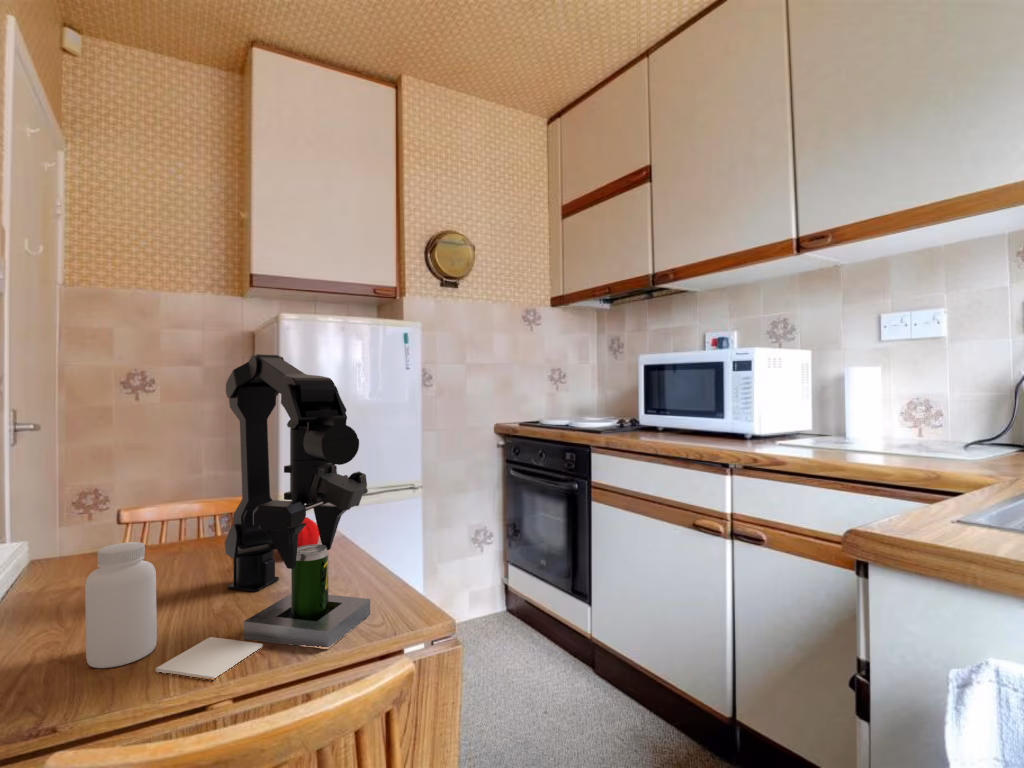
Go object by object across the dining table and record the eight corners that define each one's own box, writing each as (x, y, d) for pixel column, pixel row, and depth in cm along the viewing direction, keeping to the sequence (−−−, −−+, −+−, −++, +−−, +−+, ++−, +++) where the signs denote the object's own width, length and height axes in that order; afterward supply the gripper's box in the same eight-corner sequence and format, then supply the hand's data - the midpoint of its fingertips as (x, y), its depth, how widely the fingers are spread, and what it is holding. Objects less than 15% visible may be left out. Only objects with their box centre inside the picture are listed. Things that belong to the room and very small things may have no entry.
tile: (155, 672, 70) (155, 668, 70) (210, 640, 79) (210, 636, 79) (213, 680, 68) (213, 676, 68) (262, 647, 77) (262, 643, 77)
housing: (243, 639, 79) (243, 621, 79) (295, 606, 91) (295, 591, 91) (328, 650, 76) (328, 631, 76) (370, 614, 88) (370, 598, 88)
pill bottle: (110, 642, 78) (110, 539, 78) (168, 640, 79) (168, 538, 79) (70, 671, 70) (70, 556, 70) (135, 668, 71) (135, 554, 71)
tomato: (310, 561, 115) (310, 521, 115) (262, 561, 115) (262, 521, 115) (326, 548, 124) (325, 511, 124) (281, 548, 124) (281, 511, 124)
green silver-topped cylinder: (295, 637, 80) (295, 556, 80) (288, 624, 84) (288, 547, 84) (332, 628, 83) (332, 550, 83) (323, 616, 87) (323, 542, 87)
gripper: (320, 469, 73) (320, 585, 73) (385, 452, 91) (385, 545, 91) (250, 466, 75) (250, 577, 75) (326, 450, 93) (326, 540, 93)
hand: (309, 558), depth 84 cm, fingers open, 9 cm apart
